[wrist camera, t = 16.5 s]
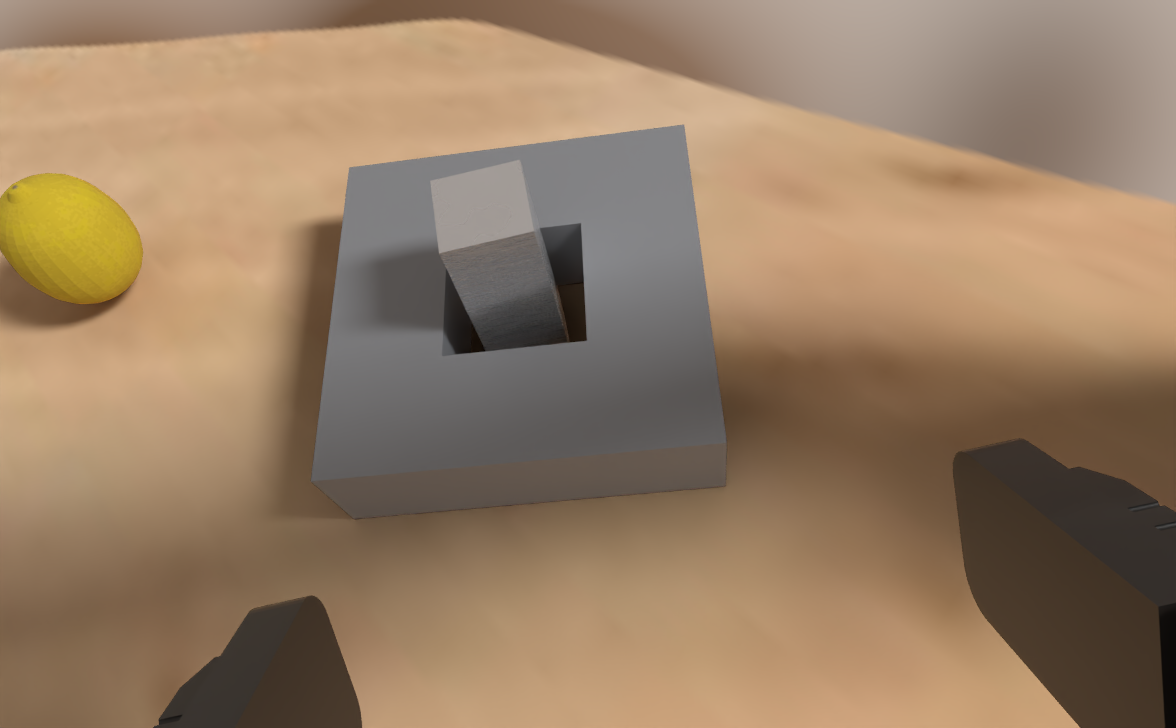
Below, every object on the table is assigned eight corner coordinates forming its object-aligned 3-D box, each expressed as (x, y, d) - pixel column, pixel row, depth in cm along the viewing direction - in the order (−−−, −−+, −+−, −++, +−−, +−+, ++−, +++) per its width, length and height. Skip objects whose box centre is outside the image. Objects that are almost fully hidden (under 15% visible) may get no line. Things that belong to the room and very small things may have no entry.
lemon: (193, 269, 45) (98, 166, 38) (116, 349, 43) (0, 255, 36) (128, 230, 47) (25, 125, 40) (51, 304, 45) (-70, 207, 38)
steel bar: (561, 303, 41) (519, 159, 32) (574, 365, 39) (533, 231, 30) (490, 319, 41) (430, 181, 32) (500, 382, 39) (438, 253, 31)
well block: (687, 188, 43) (684, 124, 39) (725, 486, 35) (726, 442, 31) (381, 226, 45) (349, 167, 41) (353, 518, 37) (310, 481, 33)
